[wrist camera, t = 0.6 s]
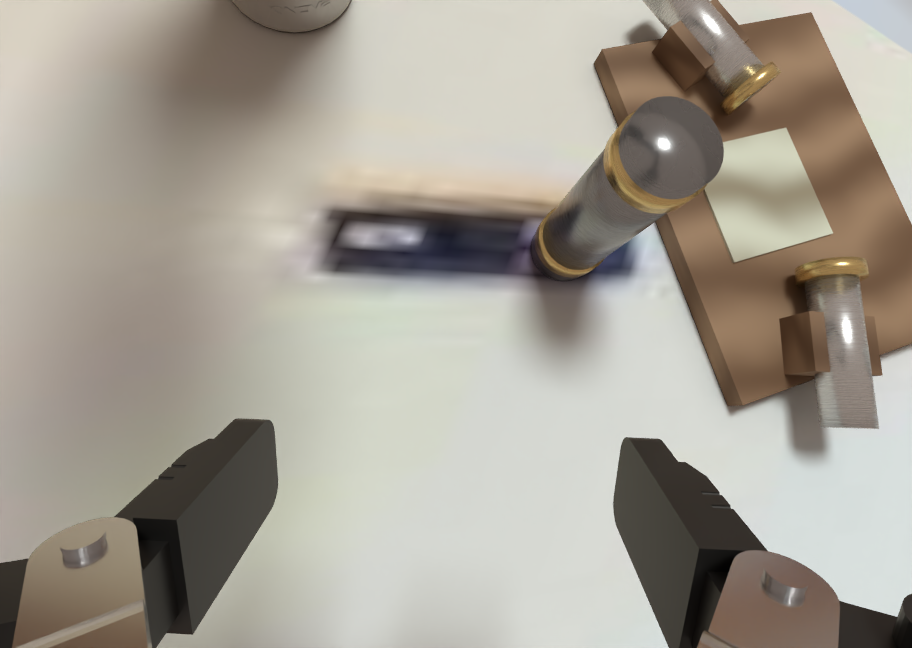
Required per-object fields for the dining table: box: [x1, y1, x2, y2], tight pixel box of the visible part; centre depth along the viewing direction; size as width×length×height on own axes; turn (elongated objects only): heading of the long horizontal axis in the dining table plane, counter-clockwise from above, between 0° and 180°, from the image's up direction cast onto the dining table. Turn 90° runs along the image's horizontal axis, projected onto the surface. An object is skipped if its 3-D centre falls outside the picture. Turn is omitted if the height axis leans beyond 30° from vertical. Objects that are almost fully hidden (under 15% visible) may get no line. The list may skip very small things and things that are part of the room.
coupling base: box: [594, 0, 912, 406], centre depth 36 cm, size 30×20×4 cm
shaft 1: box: [643, 0, 781, 115], centre depth 36 cm, size 11×4×4 cm, turn 38°
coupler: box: [531, 96, 724, 281], centre depth 28 cm, size 5×5×14 cm
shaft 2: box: [795, 257, 879, 429], centre depth 33 cm, size 11×4×4 cm, turn 178°
